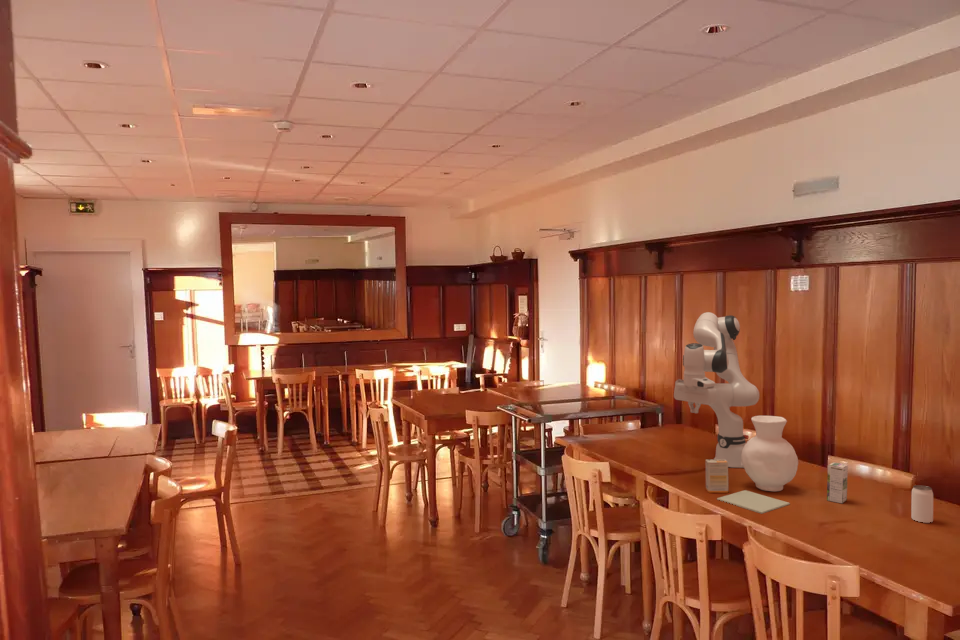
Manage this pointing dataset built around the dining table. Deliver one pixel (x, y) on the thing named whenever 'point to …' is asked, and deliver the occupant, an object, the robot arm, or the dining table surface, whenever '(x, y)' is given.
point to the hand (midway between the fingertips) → (694, 412)
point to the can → (922, 504)
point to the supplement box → (716, 475)
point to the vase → (769, 454)
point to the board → (753, 501)
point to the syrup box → (837, 482)
